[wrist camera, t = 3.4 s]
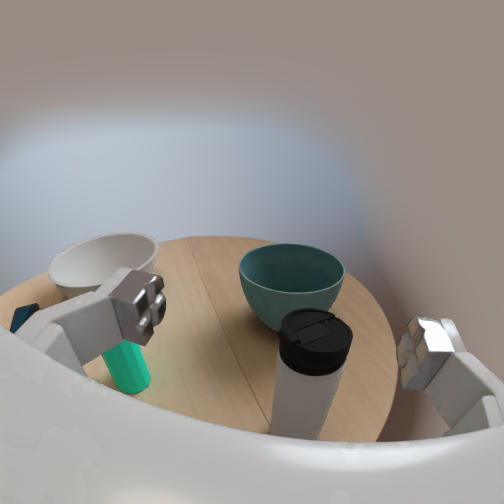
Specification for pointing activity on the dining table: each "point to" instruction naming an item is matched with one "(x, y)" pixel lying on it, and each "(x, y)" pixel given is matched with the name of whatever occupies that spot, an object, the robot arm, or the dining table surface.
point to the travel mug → (307, 371)
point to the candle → (127, 367)
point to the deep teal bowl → (289, 280)
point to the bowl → (100, 260)
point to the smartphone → (22, 316)
